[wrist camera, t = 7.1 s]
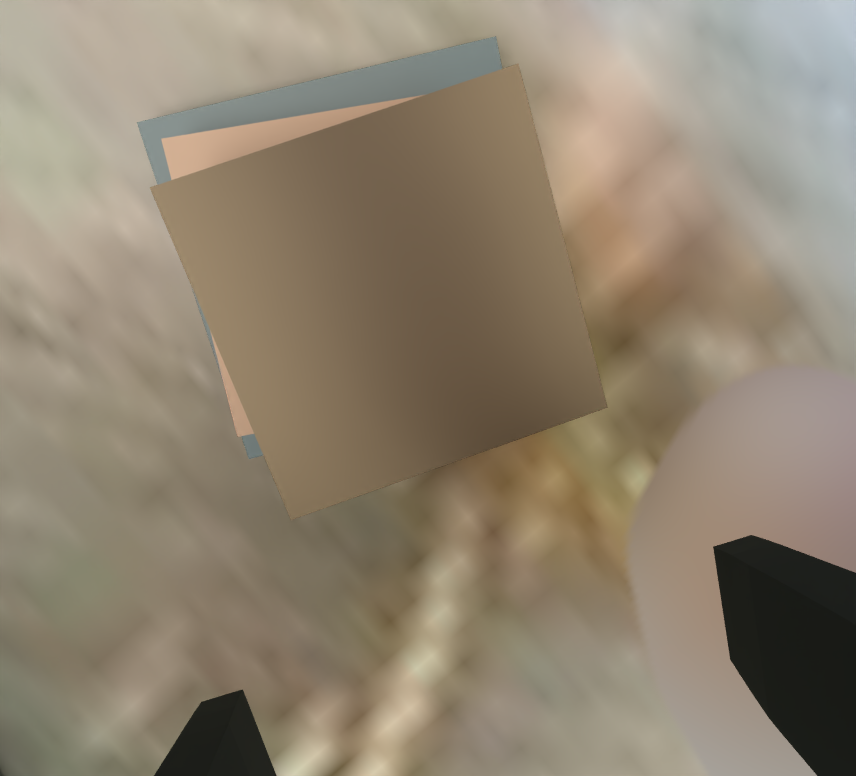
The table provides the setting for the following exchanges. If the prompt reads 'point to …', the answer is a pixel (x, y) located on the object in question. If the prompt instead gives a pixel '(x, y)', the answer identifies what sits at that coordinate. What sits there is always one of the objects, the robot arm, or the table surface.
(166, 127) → the tower base
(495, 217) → the walnut cube
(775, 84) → the table surface
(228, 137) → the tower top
